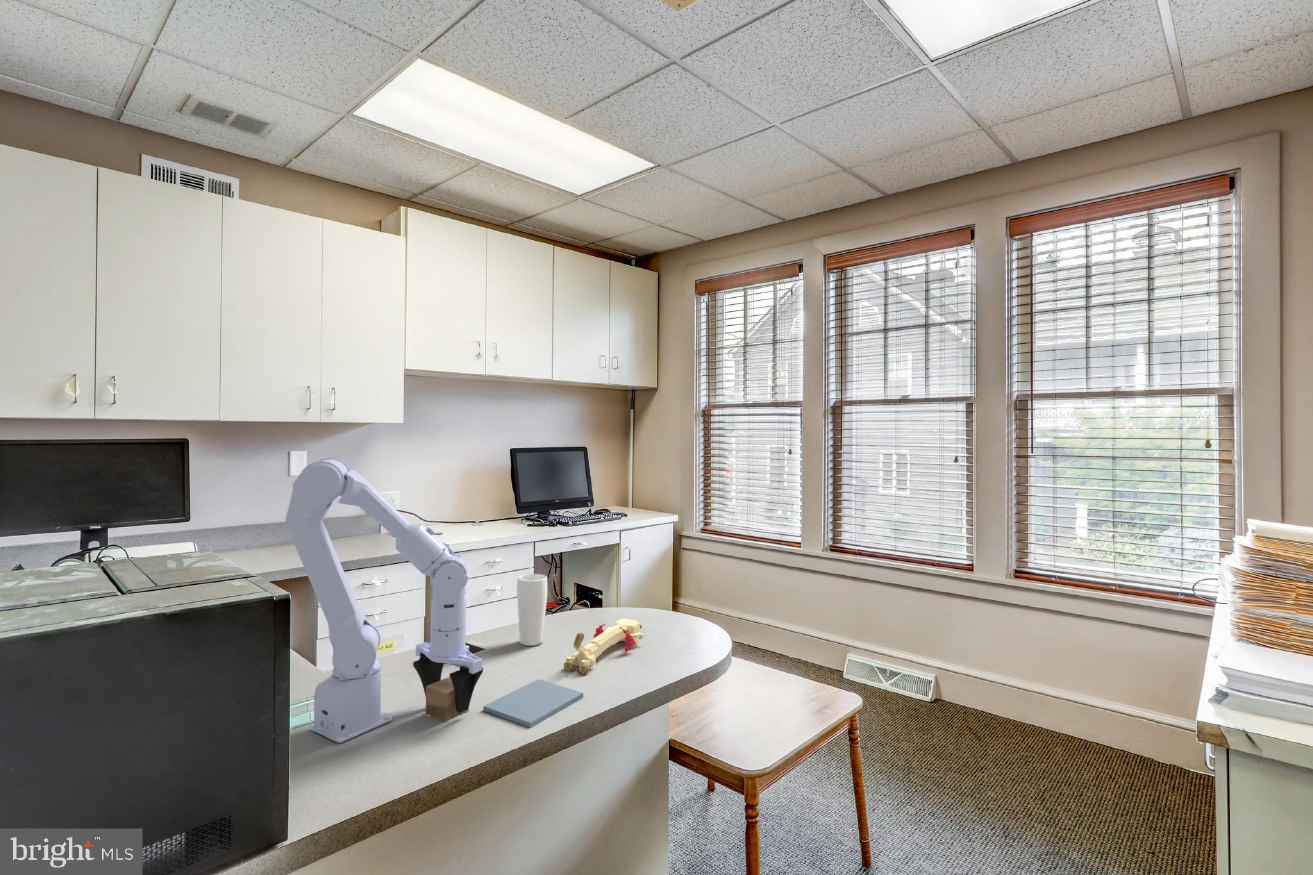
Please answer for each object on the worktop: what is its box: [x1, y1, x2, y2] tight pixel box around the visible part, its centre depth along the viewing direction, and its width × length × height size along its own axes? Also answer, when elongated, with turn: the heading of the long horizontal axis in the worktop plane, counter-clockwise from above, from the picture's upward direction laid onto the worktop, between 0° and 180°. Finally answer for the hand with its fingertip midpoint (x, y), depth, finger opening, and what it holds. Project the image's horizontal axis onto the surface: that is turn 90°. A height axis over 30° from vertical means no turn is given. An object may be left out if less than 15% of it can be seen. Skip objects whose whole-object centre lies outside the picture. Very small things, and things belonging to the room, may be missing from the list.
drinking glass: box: [516, 573, 548, 647], centre depth 145 cm, size 7×7×15 cm
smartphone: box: [414, 640, 494, 668], centre depth 137 cm, size 7×16×1 cm, turn 146°
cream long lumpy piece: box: [563, 618, 645, 675], centre depth 140 cm, size 10×9×25 cm
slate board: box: [482, 679, 584, 728], centre depth 114 cm, size 14×11×1 cm
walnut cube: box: [425, 676, 470, 723], centre depth 110 cm, size 5×5×5 cm
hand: (447, 704), depth 110 cm, fingers open, 7 cm apart
